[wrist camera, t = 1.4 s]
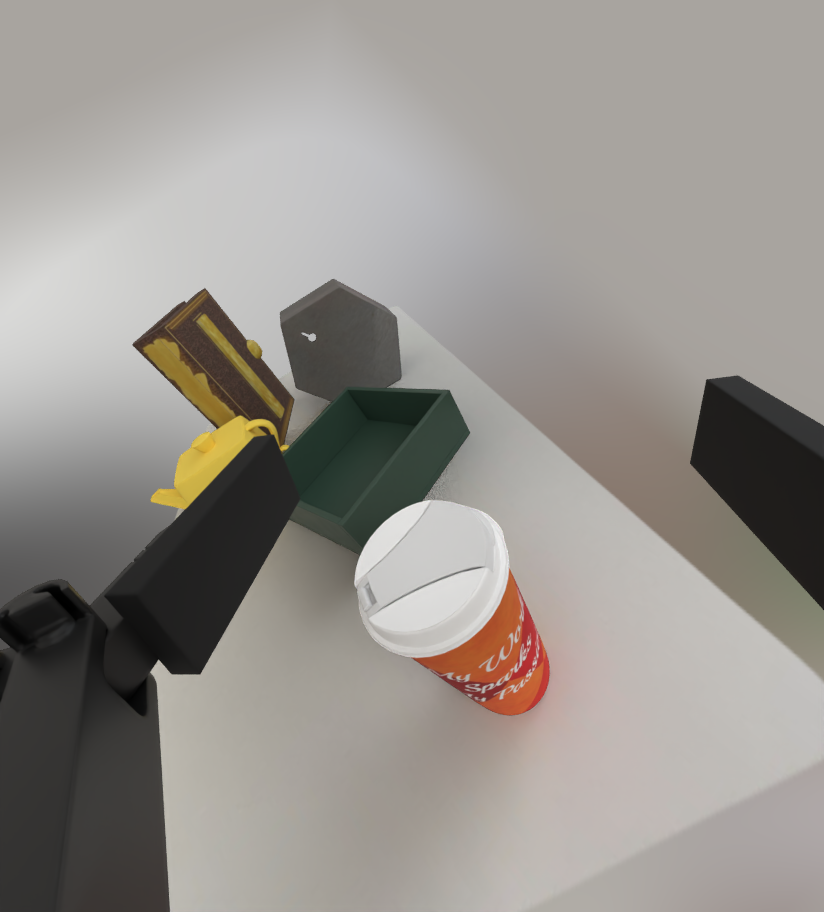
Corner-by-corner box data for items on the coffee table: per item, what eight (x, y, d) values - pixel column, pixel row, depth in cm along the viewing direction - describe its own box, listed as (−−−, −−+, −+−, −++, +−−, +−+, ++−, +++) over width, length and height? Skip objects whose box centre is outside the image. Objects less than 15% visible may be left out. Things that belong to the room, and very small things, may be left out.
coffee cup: (493, 766, 24) (375, 687, 16) (435, 653, 31) (328, 553, 22) (598, 683, 25) (541, 560, 16) (519, 589, 32) (448, 466, 23)
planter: (412, 320, 70) (299, 260, 60) (425, 332, 64) (302, 267, 54) (370, 401, 76) (262, 359, 66) (379, 419, 70) (261, 375, 60)
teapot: (194, 557, 57) (123, 508, 50) (198, 509, 67) (140, 463, 60) (309, 476, 58) (256, 418, 51) (296, 441, 68) (250, 388, 61)
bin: (470, 432, 48) (449, 389, 44) (377, 564, 40) (342, 526, 36) (369, 420, 62) (346, 386, 58) (285, 517, 54) (251, 485, 49)
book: (287, 451, 67) (169, 322, 52) (246, 471, 68) (121, 352, 54) (300, 390, 84) (214, 280, 70) (267, 407, 86) (177, 303, 71)
